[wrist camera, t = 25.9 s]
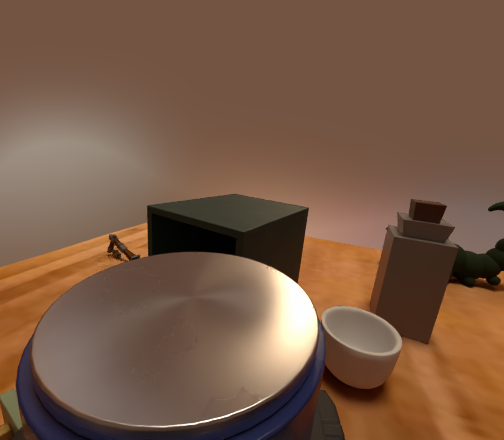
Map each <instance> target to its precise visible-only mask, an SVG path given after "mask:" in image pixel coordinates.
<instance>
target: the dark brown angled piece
mask: <svg viewBox="0 0 504 440" xmlns="http://www.w3.org/2000/svg"><path fill="white" fill-rule="evenodd" d="M109 239H110V240H111V242H110V245H109V247H108V251H107V252H108V253H111V252H112V253H113V254H112V256H113V255H114V256H115V257H116V258H121V253H119V252H118V250H113V248H114V246H115V245H116V246H117V248H119V250H120V251H121V252H122V253H124V254H125V255H126V257H127V258H128V259H129V261H131V260H135V259H139V258H140V255H135V254H133V253H132V252H130V251H129V250H128V249H127V247H126V246H125V245H124V244H123V243H121V242H120V241H119V240H118V238H117V236H116V235H115V234H114V235H112V234H110V235H109ZM114 243H115V245H114Z"/></svg>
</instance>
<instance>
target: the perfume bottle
mask: <svg viewBox="0 0 504 440" xmlns="http://www.w3.org/2000/svg"><path fill="white" fill-rule="evenodd" d="M446 207H447V206H446V205H443V204H441V203H439V202H430V201H422V200H414V199H411V203H410V210H409V214H406V213H399V212H397V215H398V227H396V226H391V225H388V228H387V233H386V237H385V241H384V246H383V250H382V254H381V258H380V262H379V267H378V271H377V275H376V279H375V284H374V288H373V292H372V296H371V301H370V309H371V313H373V314H375V315H377V316H379V317H380V318H382V319H384V320H385V321H387V322H388V323H389V324H390V325H392V326H393V327H394V328H395V329H396V330H397V332H398V333H399V335H400V336H404V337H407V338H410V339H414V340H417V341H420V342H423V343H427V344H428V343H429V340H430V337H431V334H432V330H433V327H434V324H435V321H436V318H437V315H438V312H439V309H440V305H441V302H442V299H443V296H444V293H445V290H446V287H447V284H448V280H449V277H450V274H451V271H452V268H453V265H454V262H455V258H456V255H457V252H458V249H459V248H458V247H457V246H456V245H455V244H453V243H452V242H451V241H450V240H448V237H449V236H450V234H451V233H452V232H453V230H454V228H455V227H454V226H452V225H451V224H449V223H448V222H446V221H445V220H443V219H442V217H443V214H444V212H445V209H446Z"/></svg>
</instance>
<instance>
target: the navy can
mask: <svg viewBox="0 0 504 440" xmlns="http://www.w3.org/2000/svg"><path fill="white" fill-rule="evenodd" d="M325 358H326V343H325V336H324V333H323V329H322V325H321V323H320V321H319V319H318V316H317V312H316V309H315V307H314V305H313V303H312V301H311V299H310V298H309V297H308V295H307V294H306V292H305V291H304V290H303V289H302V288H301V287H300V286H299V285H298V284H297V283H295V282H294V281H293V280H292V279H291V278H289V277H288V276H286V275H285V274H283V273H281V272H279V271H278V270H276V269H274V268H272V267H269V266H267V265H265V264H262V263H260V262H257V261H254V260H250V259H247V258H243V257H238V256H233V255H228V254H220V253H210V252H179V253H168V254H159V255H154V256H148V257H143V258H139V259H135V260H131V261H128V262H124V263H121V264H118V265H115V266H112V267H110V268H107V269H105V270H103V271H100V272H98V273H96V274H94V275H92V276H90V277H88V278H86V279H85V280H83V281H81V282H80V283H78V284H76V285H75V286H73V287H72V288H71V289H69V290H68V291H67V292H65V293H64V294H63V295H61V296H60V297H59V298H58V299H57V300H56V301H55V302H54V303H53V304H52V305H51V306H50V307H49V309H48V310H47V311H46V312H45V313H44V315H43V316H42V318H41V320H40V321H39V323H38V325H37V327H36V328H35V331H34V333H33V335H32V337H31V338H30V340H29V342H28V344H27V345H26V347H25V349H24V351H23V354H22V357H21V360H20V363H19V366H18V370H17V378H16V392H17V399H18V406H19V412H20V417H21V423H22V429H23V434H24V440H310V438H311V433H312V428H313V423H314V418H315V413H316V408H317V402H318V397H319V392H320V387H321V382H322V377H323V372H324V367H325Z"/></svg>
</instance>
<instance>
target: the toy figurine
mask: <svg viewBox="0 0 504 440" xmlns="http://www.w3.org/2000/svg"><path fill="white" fill-rule="evenodd" d="M488 210H489V211H495V210H503V211H504V202H499V203H496V204H494V205H492V206H491V207H489V209H488ZM387 228H388V227H387ZM387 228H386V230H387ZM448 240H449V239H448ZM453 244H454V243H453ZM455 245H456V244H455ZM456 246H457V247H458V248H459V249H458V252H457V255H456V258H455V262H454V265H453V268H452V271H451V274H450V277H449V279H450V278H452V277H453V275H454V276H456V277H458V278H460V279H462V280H463V283H464V284H465V285H468V286H472V285H474V284H475V283H476V281H475V279H478V278H486V281H487V282H488V283H489V284H491V285H498V284H500V281H501V279H500V278H498V277H497V275H498V274H499V273H500V272H501V271H504V239H501V240H499V241H498V242H497V244H496V245H495V248H493V249H490V250H489V251H487V253H486V254H475V253H473V252H470V251H464V250H463V249H462V248H461V247H460V246H459V245H456Z"/></svg>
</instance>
